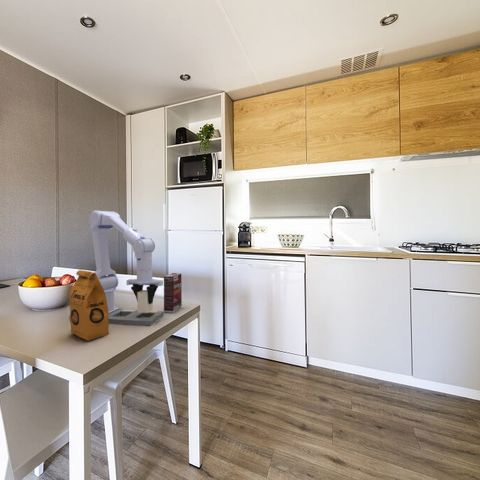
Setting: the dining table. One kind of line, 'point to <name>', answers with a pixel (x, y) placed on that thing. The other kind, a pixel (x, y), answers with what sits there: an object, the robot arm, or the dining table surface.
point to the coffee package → (88, 307)
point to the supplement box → (172, 292)
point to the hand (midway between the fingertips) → (145, 303)
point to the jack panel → (134, 317)
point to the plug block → (143, 302)
